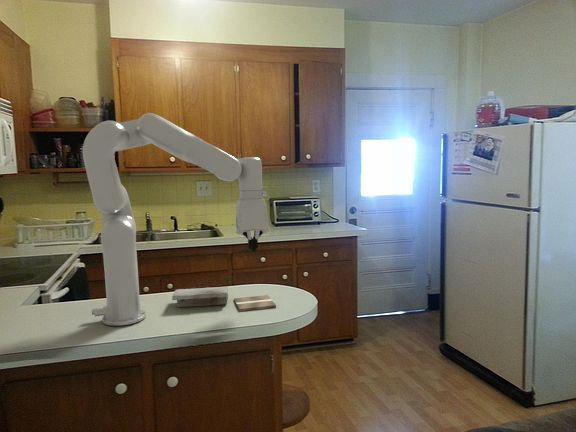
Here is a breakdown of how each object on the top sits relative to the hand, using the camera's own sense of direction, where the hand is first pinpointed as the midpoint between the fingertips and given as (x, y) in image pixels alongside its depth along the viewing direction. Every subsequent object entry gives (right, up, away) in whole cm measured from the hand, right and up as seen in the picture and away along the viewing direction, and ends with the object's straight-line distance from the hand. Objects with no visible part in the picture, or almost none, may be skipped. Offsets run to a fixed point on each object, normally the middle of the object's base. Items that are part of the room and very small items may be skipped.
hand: (253, 250), depth 147 cm
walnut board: (0, -18, +2) cm, 18 cm away
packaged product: (-17, -16, -3) cm, 24 cm away
